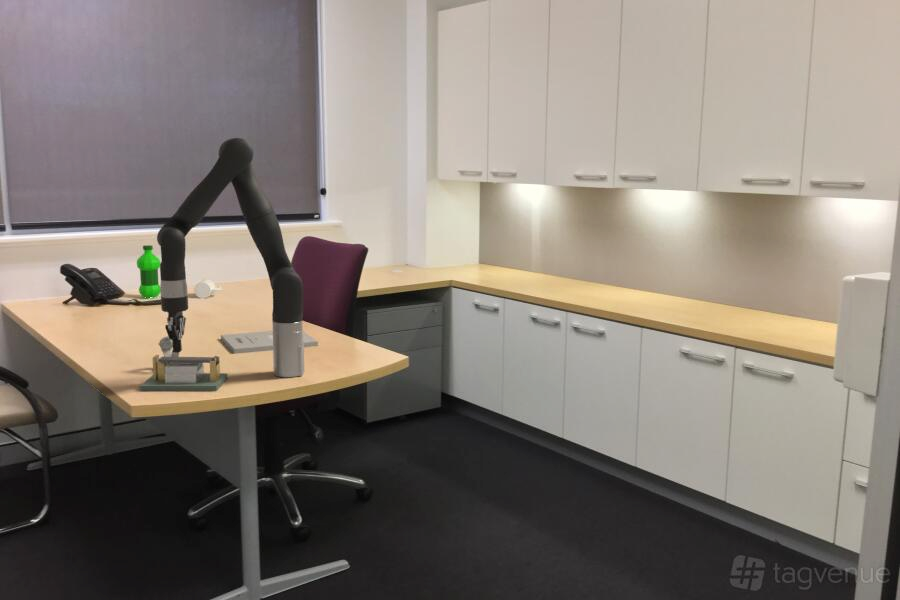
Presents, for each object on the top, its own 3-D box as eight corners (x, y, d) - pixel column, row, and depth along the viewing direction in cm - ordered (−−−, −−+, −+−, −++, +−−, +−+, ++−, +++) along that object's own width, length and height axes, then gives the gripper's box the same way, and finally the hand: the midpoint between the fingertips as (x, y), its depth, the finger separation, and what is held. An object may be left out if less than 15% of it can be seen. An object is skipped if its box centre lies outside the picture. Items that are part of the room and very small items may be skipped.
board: (227, 378, 250) (227, 373, 249) (216, 390, 236) (216, 386, 235) (155, 377, 249) (155, 373, 248) (140, 390, 235) (139, 385, 235)
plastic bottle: (157, 295, 394) (155, 244, 390) (164, 298, 386) (161, 246, 381) (136, 296, 389) (133, 245, 384) (142, 300, 380) (139, 247, 376)
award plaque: (221, 340, 302) (220, 334, 302) (299, 333, 315) (299, 328, 315) (234, 355, 280) (234, 348, 280) (318, 347, 294) (317, 341, 293)
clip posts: (220, 377, 245) (220, 354, 244) (216, 381, 240) (215, 358, 238) (158, 376, 244) (157, 354, 243) (152, 381, 239) (151, 358, 238)
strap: (218, 361, 243) (218, 356, 243) (215, 364, 240) (215, 359, 239) (162, 360, 242) (162, 355, 242) (158, 363, 239) (158, 358, 239)
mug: (194, 298, 387) (193, 282, 386) (199, 295, 397) (198, 279, 395) (219, 298, 388) (219, 282, 386) (223, 295, 398) (223, 279, 396)
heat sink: (204, 375, 247) (203, 359, 246) (196, 383, 238) (195, 367, 237) (174, 375, 246) (173, 359, 245) (165, 383, 237) (164, 367, 236)
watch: (174, 365, 263) (172, 332, 261) (185, 370, 258) (184, 336, 256) (157, 368, 259) (155, 335, 258) (168, 373, 254) (167, 339, 252)
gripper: (180, 298, 231) (184, 357, 234) (193, 290, 244) (196, 346, 247) (154, 298, 231) (157, 357, 234) (167, 290, 244) (171, 346, 247)
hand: (177, 351), depth 240 cm, fingers closed
